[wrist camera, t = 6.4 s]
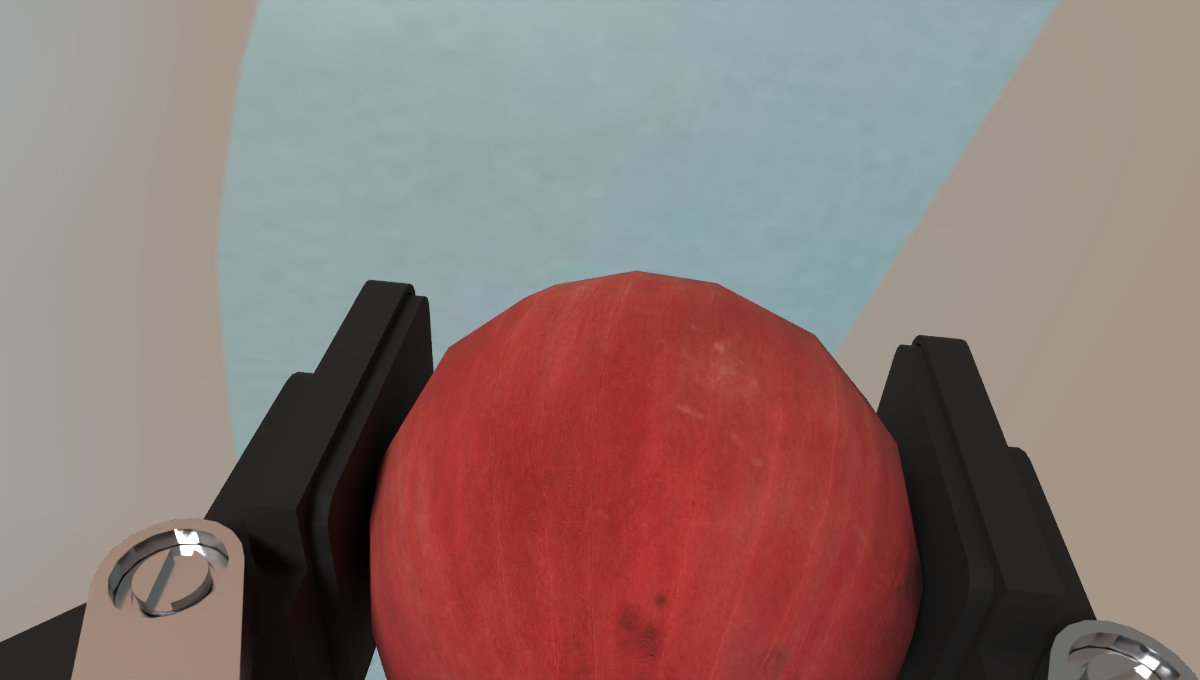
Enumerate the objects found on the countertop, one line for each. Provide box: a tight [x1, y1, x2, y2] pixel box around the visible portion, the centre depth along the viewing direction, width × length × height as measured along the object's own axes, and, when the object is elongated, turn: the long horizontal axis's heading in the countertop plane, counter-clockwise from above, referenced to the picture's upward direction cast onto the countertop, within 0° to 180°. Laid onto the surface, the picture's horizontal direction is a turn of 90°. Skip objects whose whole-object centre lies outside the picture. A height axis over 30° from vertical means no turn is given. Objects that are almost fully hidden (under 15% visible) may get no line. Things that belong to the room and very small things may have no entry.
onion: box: [369, 271, 924, 680], centre depth 10 cm, size 6×6×8 cm
